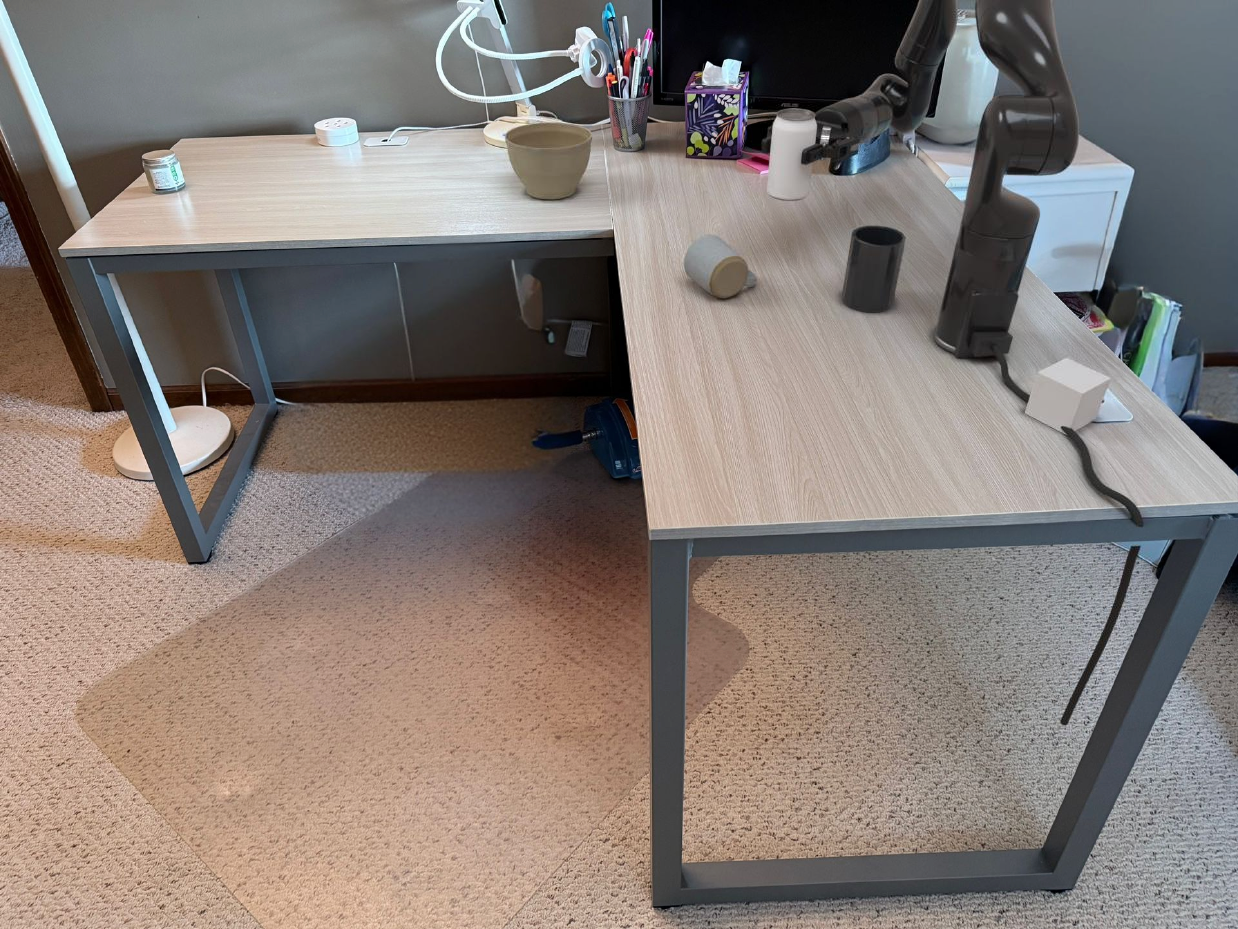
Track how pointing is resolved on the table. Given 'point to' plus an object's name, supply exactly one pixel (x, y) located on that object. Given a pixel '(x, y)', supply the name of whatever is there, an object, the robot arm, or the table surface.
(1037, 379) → the white cube
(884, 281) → the pen cup
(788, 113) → the can
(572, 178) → the planter bowl
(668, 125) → the table surface
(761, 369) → the table surface
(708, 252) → the ceramic mug
